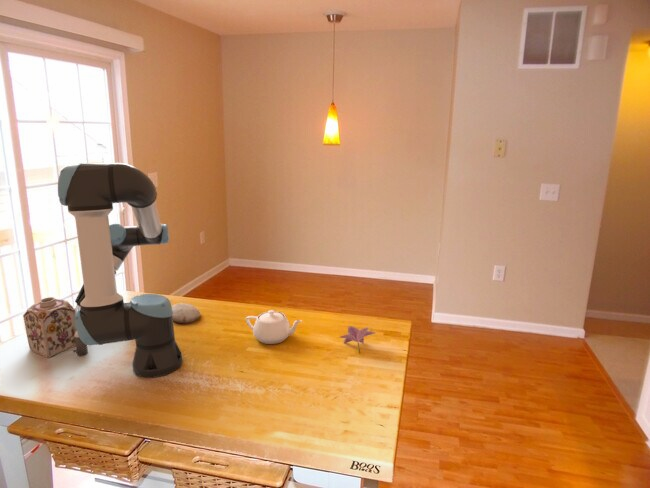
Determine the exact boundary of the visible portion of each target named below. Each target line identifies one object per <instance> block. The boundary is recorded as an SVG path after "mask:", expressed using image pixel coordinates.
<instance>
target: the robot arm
mask: <svg viewBox="0 0 650 488" xmlns="http://www.w3.org/2000/svg"><path fill="white" fill-rule="evenodd" d="M57 196H58V198H59V199H58V200H59V203H60V204H61V205H62V206H65V207H67V210H68V214H70V215H72V216H73V217H74V218H75V219H74V221H75V225H76V226H75V227H76V235H77V243H78V250H79V251H78V252H79V258H80V264H81V265H80V266H81V275H82V281H83V284H82V286H81V288H80V290H79V292H78V295H77V296H76V299H75V300H74V302H75V303H76V306H75V308H74V309H75V325H76V330H77V333H78V336H79V338H80V340H81V341H82V342H83V343H84V344H86V345H87V346H97V345H99V346H103V345H106V344H113V343H121V342H122V343H123V342H128V341H135V351H134V354H133V359H132V371H133V373H134V374H135V375H136V376H138V377H141V378H158V377H161V376H165V375H166V376H167V375H168V374H171V373H173V372H175V371H176V370H178V369H180V367H181V366H182V364H183V362H184V361H183V360H184V359H183V352H182V351H181V349H180V347H179V345H178V343H177V341H176V339H175V338H176V337H175V327H174V321H173V317H172V315H173V311H172V302H171V300H170V299H169V298H168V297H166V296H165V295H162V294H158V293H143V294H139V295H135V296H133V297H132V298H131V299H130V302H125V301H124V296H123V295H121V294H120V293H119V292H118V289H117V282H116V281H117V280H116V275H117V271H119V269H120V267H121V266H122V264H123V263H124V262H125V260H126V258H127V257H128V255H129V254H130V252H131V251H132V249H133V247H139V246H153V245H164V244H168V243H169V242H170V230H169V226H168V224H165V223H162V221H161V219H160V214H159V211H158V206H157V203H156V202H157V201H156V200H157V197H158V192H157V188H156V186H155V183H154V182H153V180H151V178H150V177H149V176H148V175H147V174H145V172H143V171H142V170H140V169H139V168H137V167H135V166H133V165H130V164H127V163H123V162H111V163H110V162H109V163H108V162H106V163H102V162H101V163H73V164H71V163H70V164H66V165H64V166H63V167H62V168H61V170H60V171H59V175H58V181H57ZM120 203H126V204H127V205H128V206H130V207H131V209H132V212H133V215H134V218H135V221H136V222H137V225H131V226H128V225H126V226H123V225H122V224H120V223H115V222H114V223H110V219H109V215H110V214H111V212H112V211H113V210H114V205H113V204H120Z"/></svg>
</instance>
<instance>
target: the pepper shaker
mask: <svg viewBox="0 0 650 488" xmlns="http://www.w3.org/2000/svg"><path fill="white" fill-rule="evenodd" d="M74 338H75V344H76V346H75V348H76V349H77V353H76V354H77V356H78V357H84V356H86V355H88V354H89V350H88V345H86V344H84V343H83V342H82V341H81V340H80V338H79V336H78V333H77V332H75V334H74ZM76 349H75V350H76Z"/></svg>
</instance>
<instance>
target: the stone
mask: <svg viewBox="0 0 650 488" xmlns="http://www.w3.org/2000/svg"><path fill="white" fill-rule="evenodd" d="M171 307H172V311H173V315H172V317H173V322H175V323H178V324H191V323H194V321H197V320H198V319H199V318H200V316H201V313H200V311H199V309H198V308H197V307H196V306H194V305H192V304H190V303H185V302H178V303H175V304H173V305H171Z"/></svg>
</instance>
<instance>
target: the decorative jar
mask: <svg viewBox="0 0 650 488" xmlns="http://www.w3.org/2000/svg"><path fill="white" fill-rule="evenodd" d="M23 321H24V323H23V324H24V327H25V328H24V329H25V333H26V338H27V343H28V347H29V350H30V351H31V352H34V353H36V354H39V355H41V356H43V357H45V358H48V359H49V358H51V357H53V356H55V355H58V354H61V353H62V352H65V351H67V350H69V349H72V348H74V347H76V344H75V338H74V334H75V332H77V330H76V325H75V308H74V307H73V305H71V304H70V302H69V301H68V300H65V299H61V298H60V299H56V298H55V297H54V296H52V297H49V296H48V297H44V298H42V299H40V300H39V302H36V303H34V304H32V305H31V306H30V307H29V308H27V310H26V311H25V312H24V314H23Z"/></svg>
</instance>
